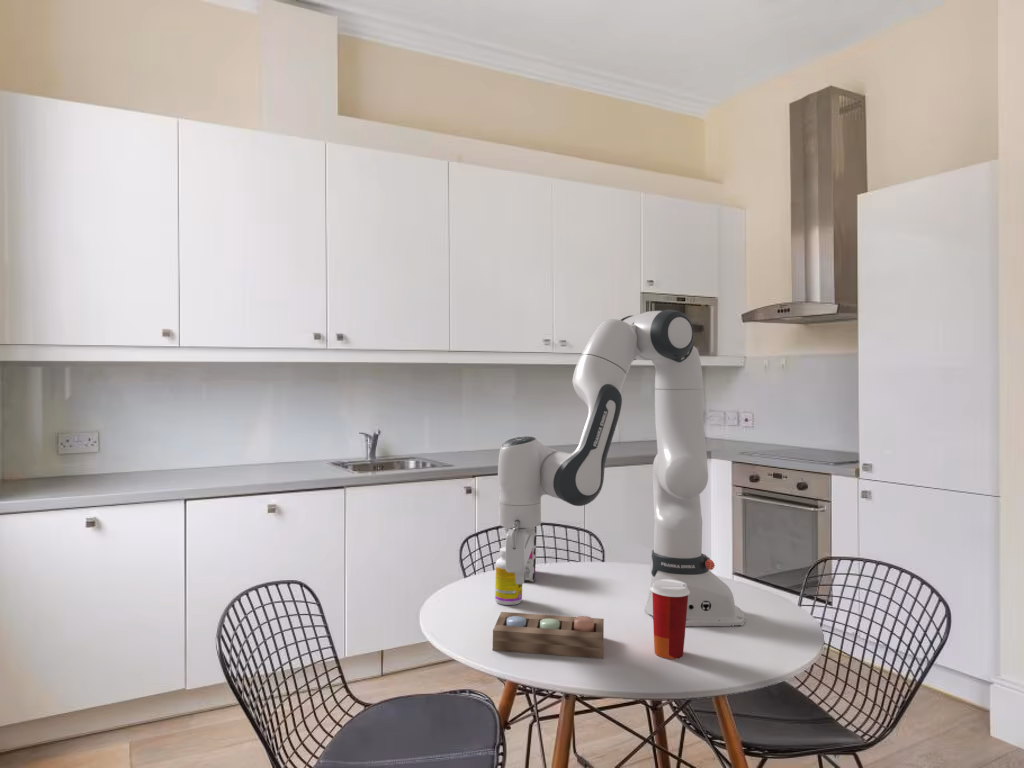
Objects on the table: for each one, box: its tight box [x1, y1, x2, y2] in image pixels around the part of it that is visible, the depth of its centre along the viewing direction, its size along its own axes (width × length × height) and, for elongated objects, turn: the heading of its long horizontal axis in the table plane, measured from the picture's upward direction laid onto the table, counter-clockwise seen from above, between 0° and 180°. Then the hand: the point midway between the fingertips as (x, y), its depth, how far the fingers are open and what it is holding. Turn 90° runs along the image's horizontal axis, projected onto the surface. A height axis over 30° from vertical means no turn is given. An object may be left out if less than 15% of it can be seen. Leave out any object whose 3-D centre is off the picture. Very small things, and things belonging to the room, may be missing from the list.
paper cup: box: [649, 579, 690, 660], centre depth 138 cm, size 8×8×14 cm
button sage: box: [540, 619, 560, 629], centre depth 142 cm, size 4×4×2 cm
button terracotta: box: [574, 615, 594, 632], centre depth 141 cm, size 4×4×2 cm
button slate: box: [507, 616, 526, 627], centre depth 143 cm, size 4×4×2 cm
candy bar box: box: [524, 526, 538, 583], centre depth 189 cm, size 11×5×16 cm, turn 178°
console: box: [492, 611, 605, 659], centre depth 142 cm, size 22×11×4 cm, turn 82°
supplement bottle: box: [494, 546, 523, 606], centre depth 168 cm, size 7×7×13 cm
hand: (520, 582), depth 143 cm, fingers closed
